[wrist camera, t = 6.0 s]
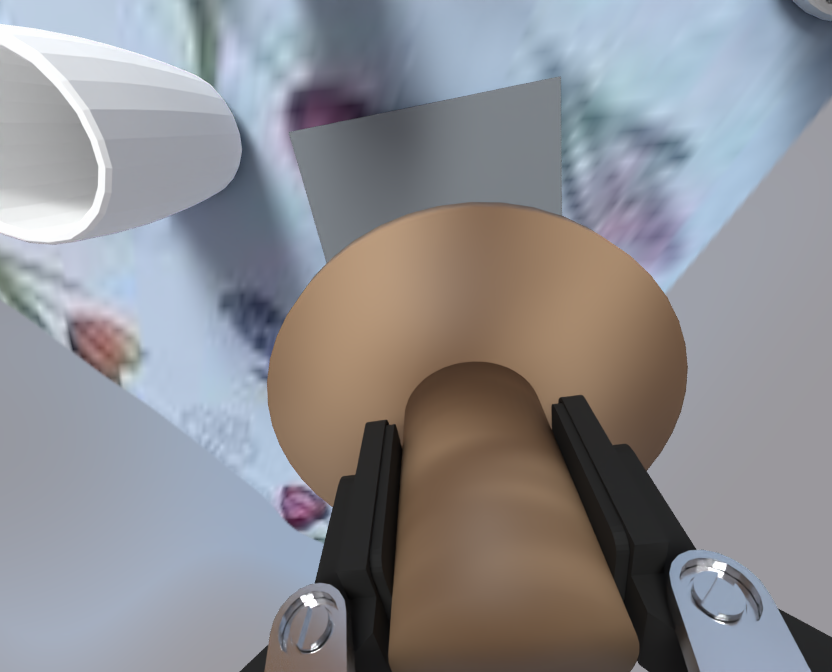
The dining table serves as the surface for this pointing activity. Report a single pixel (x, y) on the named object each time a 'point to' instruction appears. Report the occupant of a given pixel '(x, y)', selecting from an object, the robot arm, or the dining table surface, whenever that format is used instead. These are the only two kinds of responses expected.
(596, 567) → the lid
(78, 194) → the cup
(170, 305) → the dining table surface
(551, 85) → the mat
